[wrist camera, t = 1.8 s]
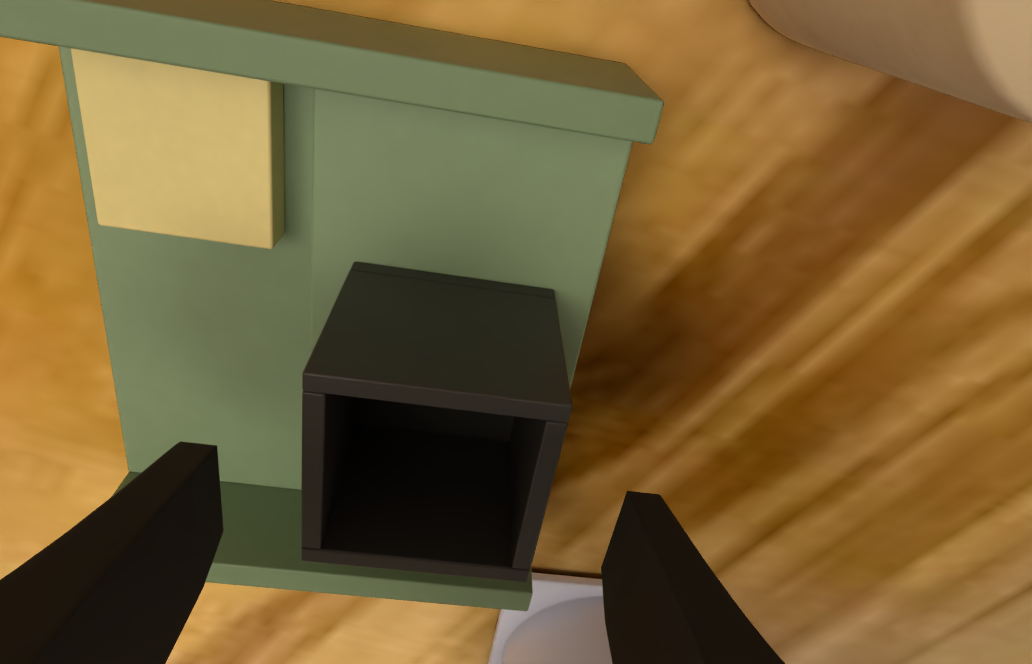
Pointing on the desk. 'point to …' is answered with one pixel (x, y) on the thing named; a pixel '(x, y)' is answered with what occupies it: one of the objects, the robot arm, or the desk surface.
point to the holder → (432, 424)
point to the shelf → (340, 233)
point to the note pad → (183, 149)
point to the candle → (924, 43)
